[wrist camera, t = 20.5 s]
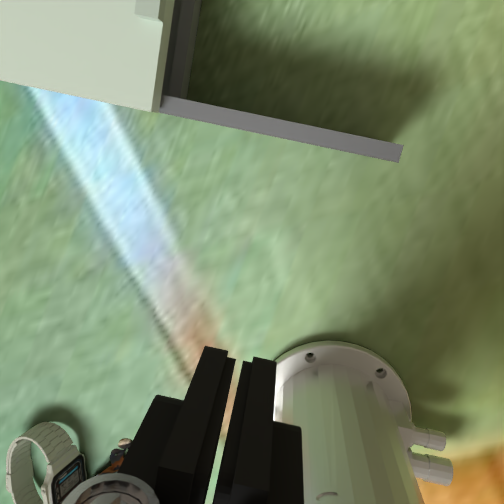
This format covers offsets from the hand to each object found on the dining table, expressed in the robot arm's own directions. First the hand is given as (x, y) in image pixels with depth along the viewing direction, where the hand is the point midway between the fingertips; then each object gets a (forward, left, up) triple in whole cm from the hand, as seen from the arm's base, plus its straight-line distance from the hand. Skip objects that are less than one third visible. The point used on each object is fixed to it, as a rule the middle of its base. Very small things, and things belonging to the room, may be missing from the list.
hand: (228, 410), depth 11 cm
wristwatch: (+14, +26, -26) cm, 39 cm away
